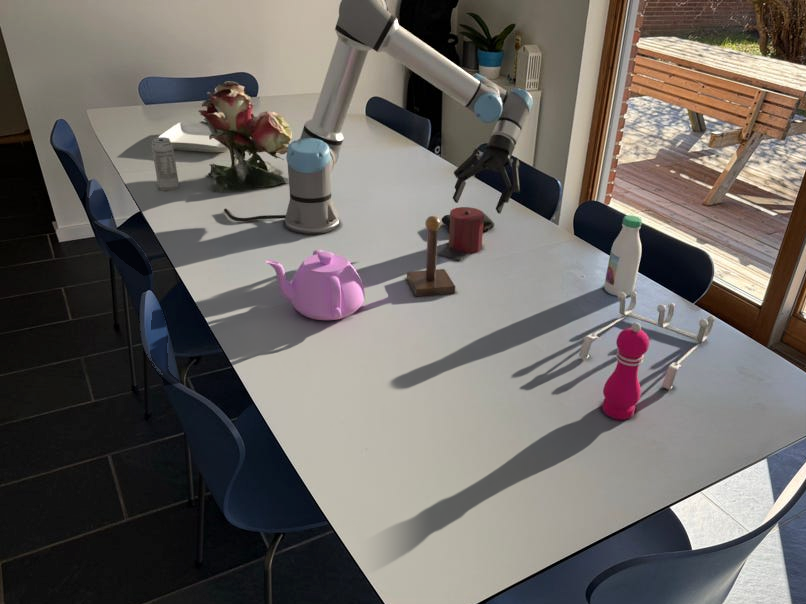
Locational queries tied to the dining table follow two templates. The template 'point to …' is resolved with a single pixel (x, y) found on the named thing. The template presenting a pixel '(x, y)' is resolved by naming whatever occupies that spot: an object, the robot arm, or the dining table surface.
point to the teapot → (322, 286)
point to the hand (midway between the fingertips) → (476, 205)
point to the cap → (464, 233)
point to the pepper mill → (625, 374)
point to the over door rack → (702, 335)
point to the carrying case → (487, 222)
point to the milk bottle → (624, 258)
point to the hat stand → (431, 268)
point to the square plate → (193, 138)
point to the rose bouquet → (244, 139)
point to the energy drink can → (164, 163)
